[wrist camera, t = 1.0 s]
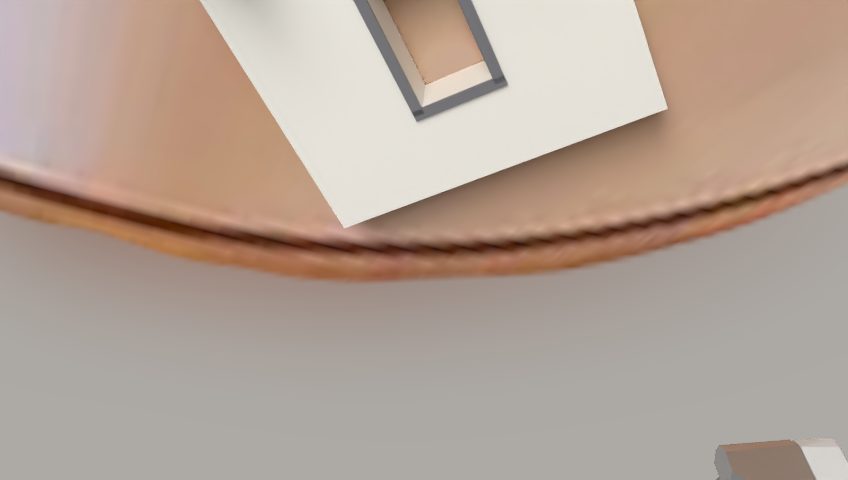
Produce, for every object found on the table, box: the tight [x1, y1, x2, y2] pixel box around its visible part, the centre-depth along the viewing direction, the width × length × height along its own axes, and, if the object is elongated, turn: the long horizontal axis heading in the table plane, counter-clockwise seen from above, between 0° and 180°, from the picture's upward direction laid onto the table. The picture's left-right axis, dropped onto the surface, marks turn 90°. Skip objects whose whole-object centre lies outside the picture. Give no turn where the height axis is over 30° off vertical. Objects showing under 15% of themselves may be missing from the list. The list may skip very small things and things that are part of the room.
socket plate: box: [200, 0, 668, 228], centre depth 39 cm, size 20×18×3 cm
